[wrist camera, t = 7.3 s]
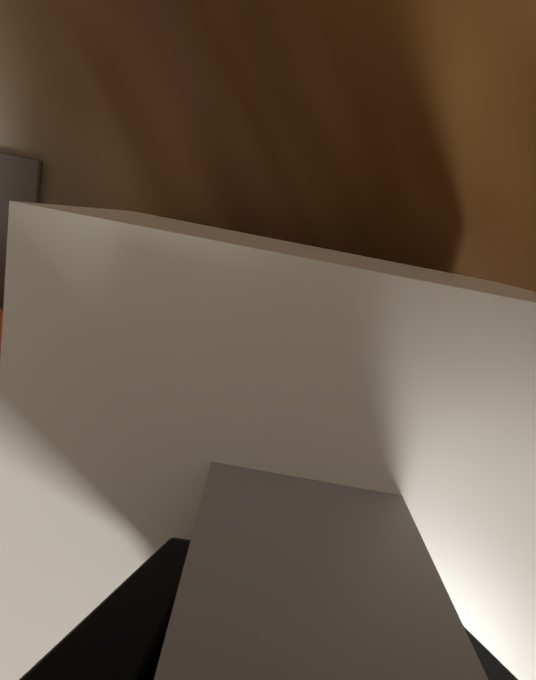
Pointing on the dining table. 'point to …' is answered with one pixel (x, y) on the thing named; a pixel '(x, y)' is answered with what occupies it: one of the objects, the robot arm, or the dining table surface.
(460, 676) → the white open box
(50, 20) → the dining table surface
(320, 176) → the dining table surface
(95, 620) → the robot arm
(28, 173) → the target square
